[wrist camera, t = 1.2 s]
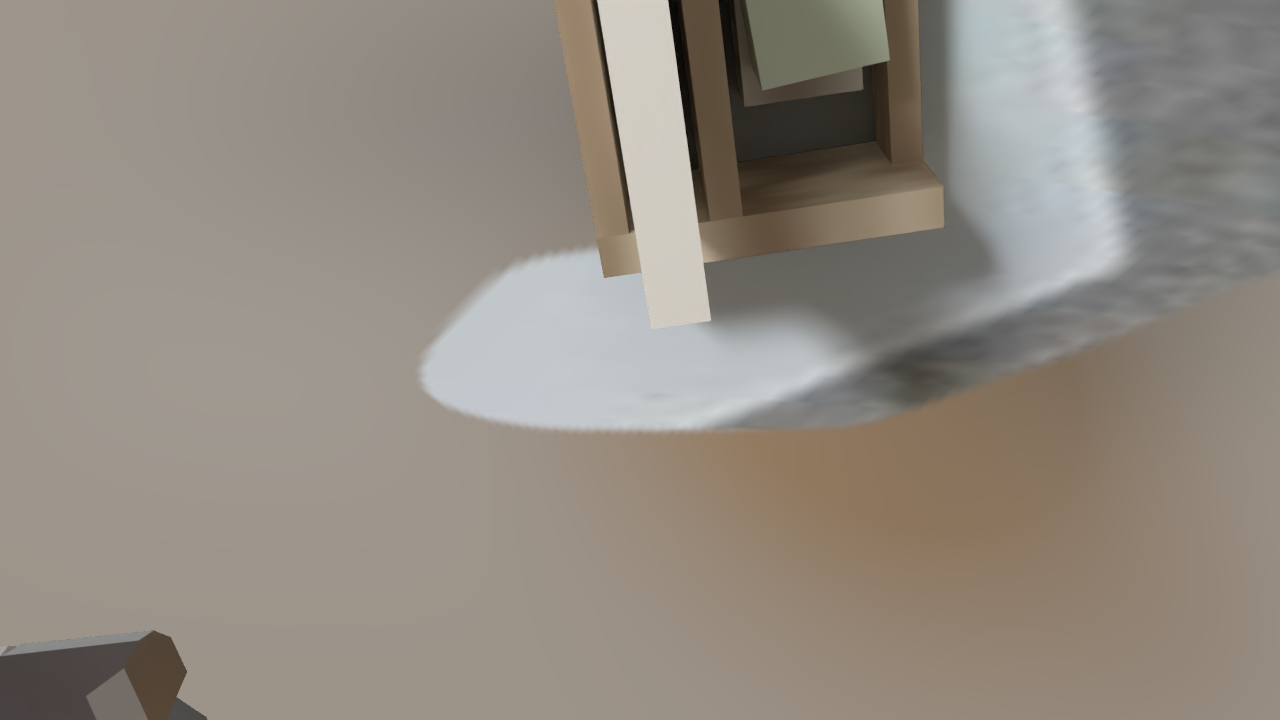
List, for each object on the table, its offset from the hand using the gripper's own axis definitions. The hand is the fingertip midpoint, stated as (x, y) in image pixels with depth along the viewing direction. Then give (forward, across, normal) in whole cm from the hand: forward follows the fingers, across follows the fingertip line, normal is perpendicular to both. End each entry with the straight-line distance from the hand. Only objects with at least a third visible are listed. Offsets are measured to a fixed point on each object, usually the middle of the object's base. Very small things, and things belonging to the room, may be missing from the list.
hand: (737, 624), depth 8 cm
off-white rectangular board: (+38, 0, 0) cm, 38 cm away
